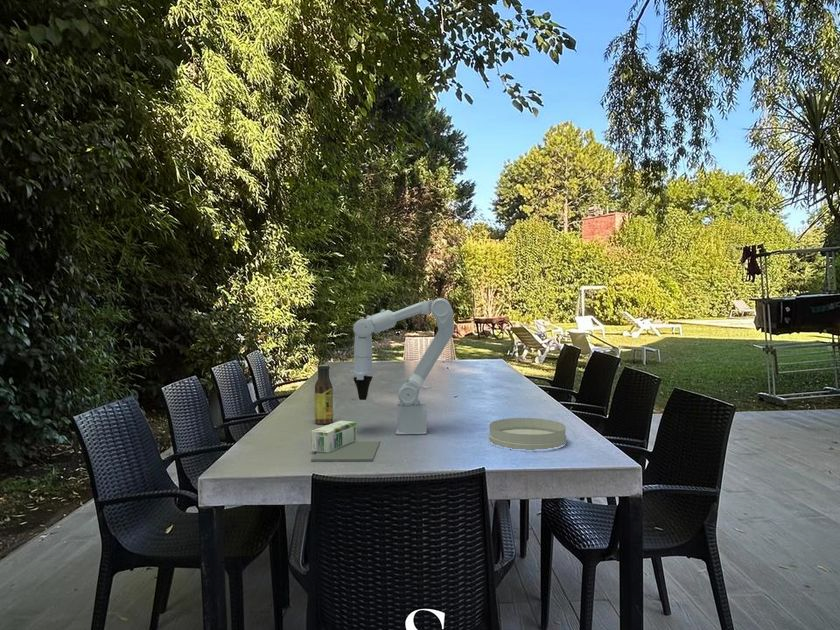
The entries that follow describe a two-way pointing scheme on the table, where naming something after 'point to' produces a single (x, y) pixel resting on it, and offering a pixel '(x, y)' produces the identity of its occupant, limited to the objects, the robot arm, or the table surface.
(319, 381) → the sauce bottle
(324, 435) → the syrup box
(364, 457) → the mat
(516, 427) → the dish
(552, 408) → the table surface
